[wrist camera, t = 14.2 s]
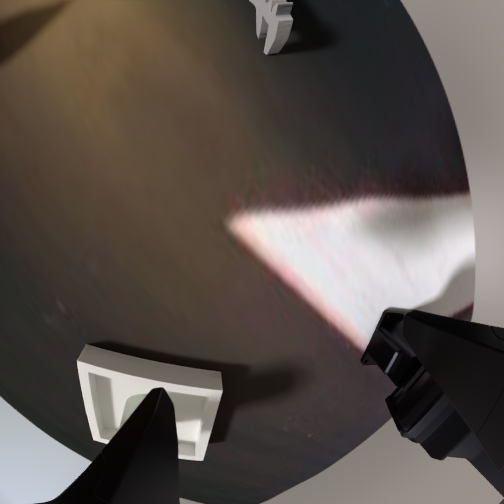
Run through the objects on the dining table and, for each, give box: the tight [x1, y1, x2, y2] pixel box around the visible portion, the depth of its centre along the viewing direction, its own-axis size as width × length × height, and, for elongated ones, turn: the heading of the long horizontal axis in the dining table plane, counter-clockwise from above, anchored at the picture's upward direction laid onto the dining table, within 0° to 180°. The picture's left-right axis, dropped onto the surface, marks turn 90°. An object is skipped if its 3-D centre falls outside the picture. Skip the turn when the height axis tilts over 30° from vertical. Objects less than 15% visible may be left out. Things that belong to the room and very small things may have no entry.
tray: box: [77, 344, 223, 461], centre depth 23 cm, size 13×13×3 cm
